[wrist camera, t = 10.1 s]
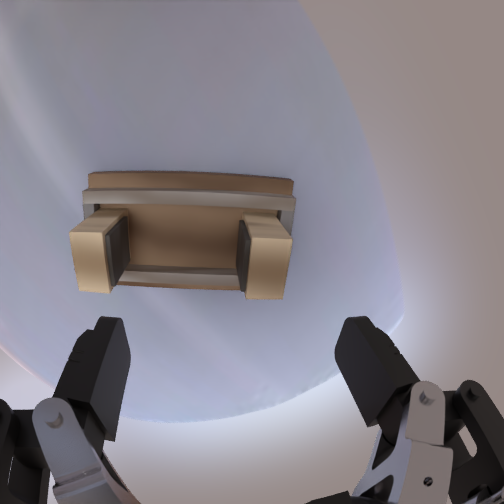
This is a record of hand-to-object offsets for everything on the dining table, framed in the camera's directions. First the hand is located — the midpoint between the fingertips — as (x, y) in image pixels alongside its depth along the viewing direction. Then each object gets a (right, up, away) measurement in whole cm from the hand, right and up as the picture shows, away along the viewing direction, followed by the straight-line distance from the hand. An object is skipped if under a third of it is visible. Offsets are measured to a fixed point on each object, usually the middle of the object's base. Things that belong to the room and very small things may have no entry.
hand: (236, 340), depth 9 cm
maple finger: (+1, +4, +18) cm, 19 cm away
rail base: (-6, +5, +18) cm, 20 cm away
